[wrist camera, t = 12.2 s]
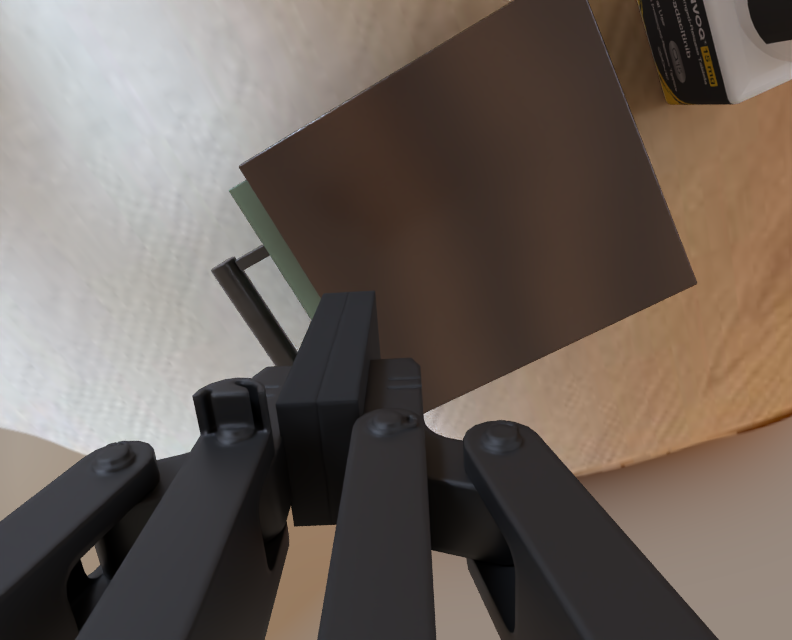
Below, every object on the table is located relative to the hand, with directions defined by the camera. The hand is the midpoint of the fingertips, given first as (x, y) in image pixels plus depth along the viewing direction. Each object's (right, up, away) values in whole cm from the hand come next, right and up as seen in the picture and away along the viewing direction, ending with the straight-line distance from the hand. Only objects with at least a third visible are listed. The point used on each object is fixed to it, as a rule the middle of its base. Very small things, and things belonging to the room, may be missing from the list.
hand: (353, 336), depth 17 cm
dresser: (+5, +8, +17) cm, 19 cm away
